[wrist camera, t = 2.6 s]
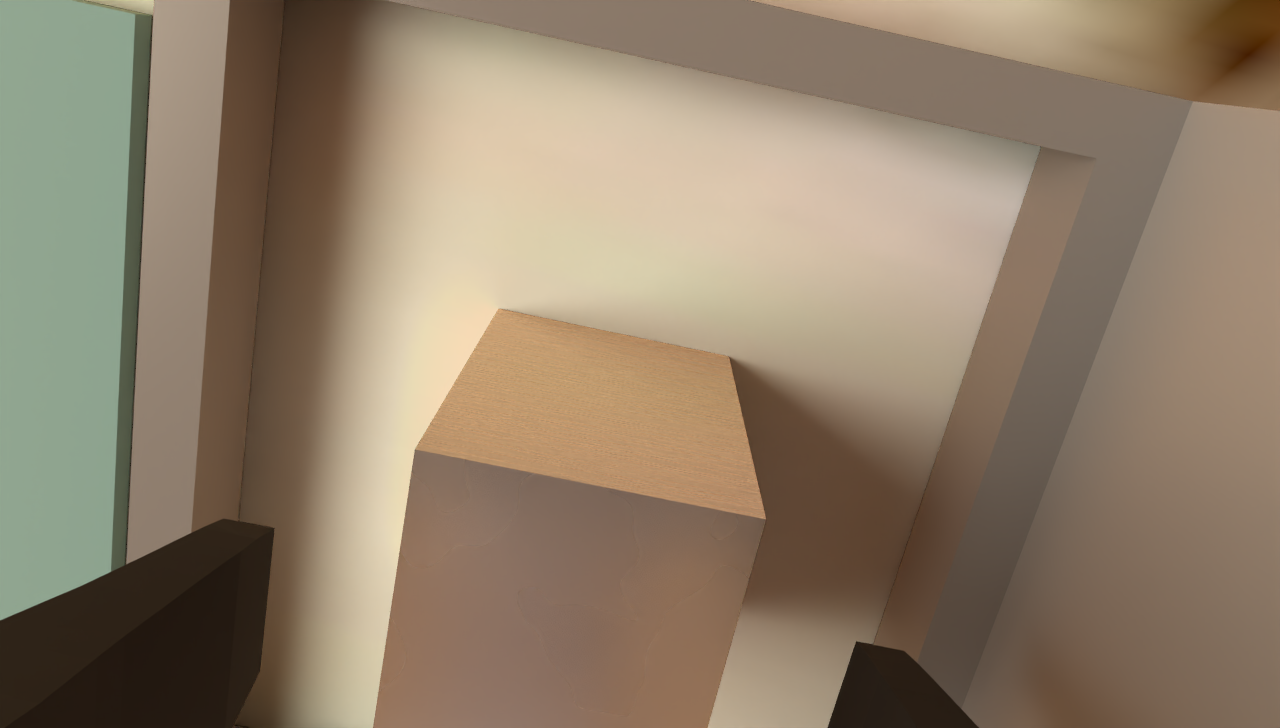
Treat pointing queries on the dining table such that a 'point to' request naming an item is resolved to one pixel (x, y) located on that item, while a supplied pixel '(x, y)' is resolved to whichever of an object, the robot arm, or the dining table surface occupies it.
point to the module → (572, 537)
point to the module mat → (68, 288)
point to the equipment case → (990, 390)
